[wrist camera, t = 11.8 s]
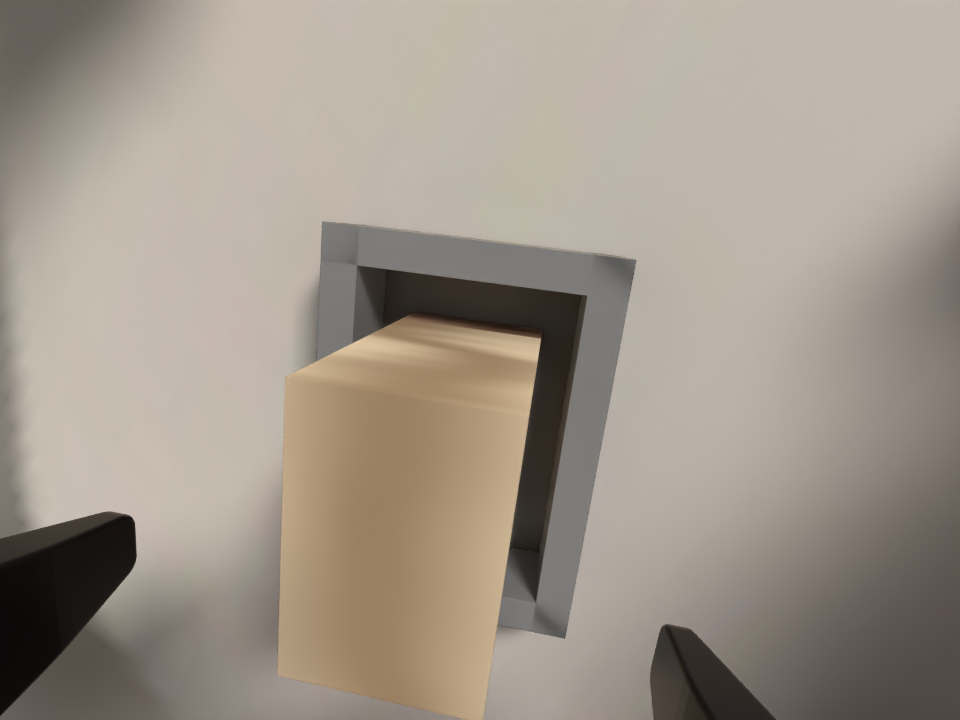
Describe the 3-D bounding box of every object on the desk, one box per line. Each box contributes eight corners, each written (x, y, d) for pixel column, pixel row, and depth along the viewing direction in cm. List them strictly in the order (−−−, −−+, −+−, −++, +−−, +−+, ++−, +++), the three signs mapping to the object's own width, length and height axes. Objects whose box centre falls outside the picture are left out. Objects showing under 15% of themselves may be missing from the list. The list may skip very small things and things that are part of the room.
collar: (358, 224, 16) (322, 221, 13) (623, 257, 15) (636, 259, 12) (340, 539, 18) (308, 584, 16) (563, 583, 17) (565, 638, 15)
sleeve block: (400, 483, 17) (277, 675, 10) (416, 311, 16) (285, 377, 8) (515, 505, 17) (482, 723, 9) (542, 329, 16) (529, 416, 8)
